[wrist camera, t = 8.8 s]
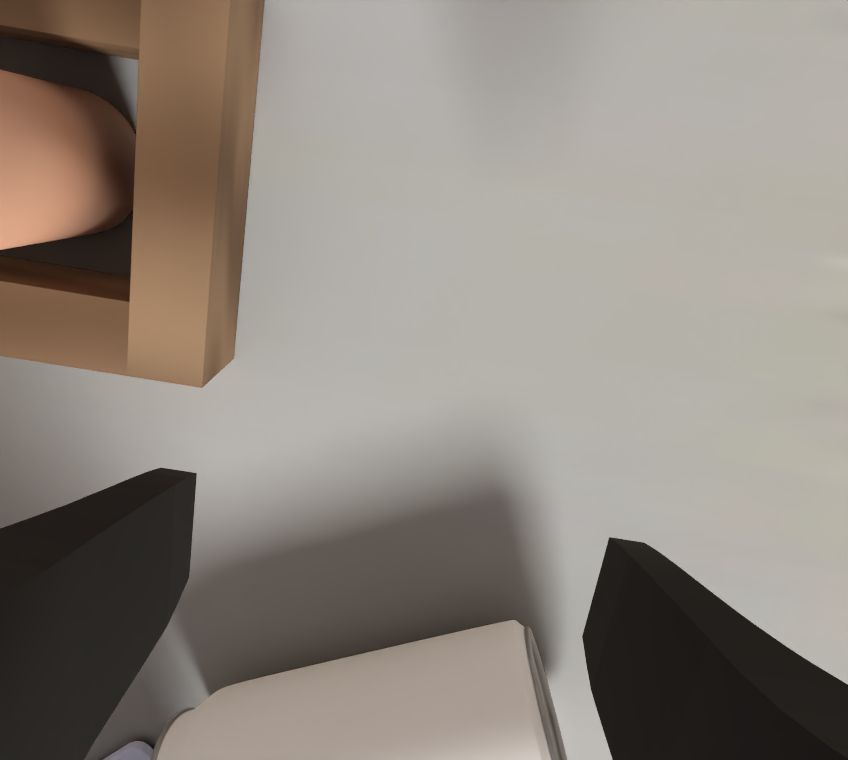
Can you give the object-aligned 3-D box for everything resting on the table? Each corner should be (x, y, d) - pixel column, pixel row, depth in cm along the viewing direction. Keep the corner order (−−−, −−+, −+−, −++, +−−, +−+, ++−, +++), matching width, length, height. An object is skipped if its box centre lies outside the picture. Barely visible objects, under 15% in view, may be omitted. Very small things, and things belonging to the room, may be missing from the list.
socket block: (233, 358, 21) (201, 387, 18) (-95, 305, 21) (-179, 326, 18) (264, 0, 18) (232, -32, 15) (-116, -68, 18) (-222, -114, 15)
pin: (73, 261, 20) (-103, 304, 14) (-26, 146, 19) (-268, 132, 13) (173, 178, 20) (39, 180, 13) (75, 55, 19) (-125, -12, 12)
